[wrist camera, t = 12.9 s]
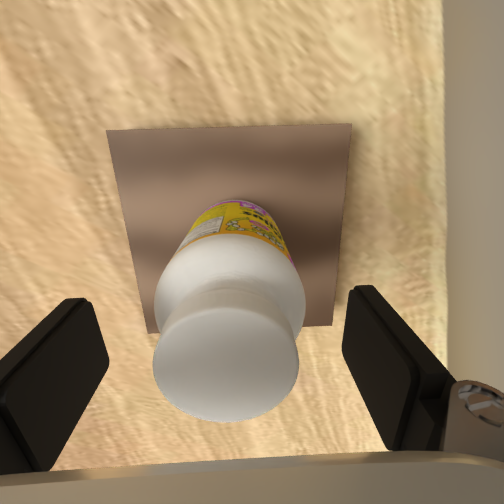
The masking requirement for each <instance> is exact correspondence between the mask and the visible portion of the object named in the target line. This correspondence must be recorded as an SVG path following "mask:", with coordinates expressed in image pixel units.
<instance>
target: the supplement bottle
mask: <svg viewBox="0 0 504 504" xmlns="http://www.w3.org/2000/svg"><path fill="white" fill-rule="evenodd" d="M305 308H306V303H305V294H304V289H303V286H302V282H301V280H300V278H299V275H298V273H297V271H296V268H295V266H294V264H293V262H292V259H291V257H290V254H289V252H288V249H287V247H286V245H285V242H284V240H283V238H282V236H281V233H280V231H279V229H278V227H277V225H276V223H275V221H274V220H273V219H272V217H271V216H270V215H269V214H268V213H267V212H266V211H265V210H264V209H262V208H261V207H259V206H257V205H255V204H253V203H251V202H247V201H243V200H227V201H223V202H219V203H217V204H215V205H213V206H211V207H209V208H208V209H207V210H205V211H204V212H203V213H202V214H201V215H200V216H199V217H198V219H197V220H196V221H195V223H194V224H193V226H192V228H191V229H190V231H189V232H188V234H187V235H186V237H185V238H184V240H183V242H182V243H181V245H180V246H179V248H178V249H177V251H176V253H175V254H174V256H173V257H172V258H171V260H170V262H169V263H168V265H167V266H166V268H165V270H164V271H163V273H162V275H161V277H160V279H159V282H158V284H157V288H156V292H155V298H154V312H155V319H156V323H157V326H158V329H159V331H160V333H161V335H160V338H159V340H158V343H157V345H156V348H155V352H154V357H153V373H154V377H155V381H156V383H157V386H158V387H159V389H160V391H161V392H162V394H163V395H164V396H165V397H166V399H167V400H168V401H169V402H170V403H171V404H173V405H174V406H175V407H177V408H178V409H180V410H181V411H183V412H185V413H187V414H189V415H191V416H193V417H196V418H199V419H202V420H207V421H213V422H228V423H230V422H238V421H244V420H249V419H252V418H255V417H258V416H260V415H262V414H264V413H266V412H268V411H270V410H271V409H273V408H274V407H276V406H277V405H278V404H279V403H280V402H282V400H283V399H284V398H285V397H286V396H287V395H288V394H289V393H290V391H291V390H292V388H293V386H294V384H295V382H296V379H297V375H298V370H299V357H298V351H297V347H296V343H295V340H296V338H297V337H298V335H299V332H300V330H301V328H302V325H303V321H304V317H305Z"/></svg>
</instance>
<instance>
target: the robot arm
mask: <svg viewBox="0 0 504 504" xmlns="http://www.w3.org/2000/svg"><path fill="white" fill-rule="evenodd" d="M342 354H343V357H344V359H345V361H346V364H347V366H348V368H349V370H350V372H351V374H352V376H353V379H354V381H355V383H356V385H357V387H358V389H359V391H360V394H361V396H362V398H363V400H364V402H365V404H366V406H367V409H368V411H369V413H370V415H371V417H372V419H373V421H374V424H375V426H376V428H377V430H378V432H379V434H380V436H381V439H382V441H383V443H384V445H385V447H386V448H387V449H388V450H389V451H386V452H359V453H337V454H319V455H301V456H283V457H266V458H248V459H232V460H215V461H199V462H183V463H167V464H151V465H135V466H120V467H106V468H91V469H76V470H62V471H49V470H50V469H51V468H52V467H53V465H54V464H55V462H56V460H57V458H58V457H59V455H60V453H61V451H62V450H63V448H64V446H65V444H66V442H67V441H68V439H69V437H70V435H71V434H72V432H73V430H74V428H75V426H76V425H77V423H78V421H79V419H80V417H81V416H82V414H83V412H84V410H85V409H86V407H87V405H88V403H89V401H90V400H91V398H92V396H93V394H94V393H95V391H96V389H97V387H98V385H99V384H100V382H101V380H102V378H103V377H104V375H105V373H106V371H107V369H108V367H109V356H108V353H107V350H106V347H105V343H104V340H103V337H102V334H101V331H100V327H99V324H98V321H97V318H96V315H95V311H94V308H93V305H92V303H91V302H88V301H87V300H86V299H85V298H68V299H65V300H63V301H62V302H61V303H60V304H59V305H58V306H57V307H56V308H55V309H54V310H53V311H52V312H51V313H50V314H49V315H47V316H46V317H45V318H44V319H43V320H42V321H41V322H40V323H39V324H38V325H37V326H36V327H35V328H34V329H33V330H32V331H31V332H29V333H28V334H27V335H26V336H25V337H24V338H23V339H22V340H21V341H20V342H19V343H18V344H17V345H16V346H15V347H14V348H12V349H11V350H10V351H9V352H8V353H7V354H6V355H5V356H4V357H3V358H2V359H1V360H0V504H504V393H502V392H501V391H499V390H497V389H495V388H493V387H491V386H489V385H487V384H484V383H481V382H478V381H471V380H463V381H458V382H457V381H456V380H455V379H454V378H453V376H452V375H451V374H450V373H449V371H448V370H447V369H446V368H445V367H444V366H443V364H442V363H441V362H440V361H439V360H438V359H437V358H436V356H435V355H434V354H433V353H432V352H431V351H430V350H429V349H428V347H427V346H426V345H425V344H424V343H423V342H422V341H421V339H420V338H419V337H418V336H417V335H416V334H415V333H414V332H413V330H412V329H411V328H410V327H409V326H408V325H407V324H406V322H405V321H404V320H403V319H402V318H401V317H400V316H399V315H398V313H397V312H396V311H395V310H394V309H393V308H392V307H391V305H390V304H389V303H388V302H387V301H386V300H385V299H384V297H383V296H382V295H381V294H380V293H379V292H378V291H377V290H376V288H375V287H374V286H373V285H358V286H355V287H354V290H350V292H349V297H348V304H347V311H346V319H345V326H344V333H343V341H342Z"/></svg>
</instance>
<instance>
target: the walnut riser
mask: <svg viewBox="0 0 504 504" xmlns="http://www.w3.org/2000/svg"><path fill="white" fill-rule="evenodd" d="M351 128H352V124H317V125H282V126H246V127H211V128H175V129H140V130H106V134H107V138H108V143H109V148H110V153H111V158H112V163H113V167H114V172H115V177H116V182H117V187H118V192H119V197H120V201H121V206H122V211H123V216H124V221H125V226H126V230H127V235H128V240H129V245H130V250H131V255H132V259H133V264H134V269H135V274H136V279H137V284H138V289H139V293H140V298H141V303H142V308H143V313H144V318H145V322H146V327H147V332H148V334H151V333H160V331H159V329H158V326H157V323H156V319H155V312H154V298H155V292H156V288H157V284H158V282H159V279H160V277H161V275H162V273H163V271H164V270H165V268H166V266H167V265H168V263H169V262H170V260H171V258H172V257H173V256H174V254H175V253H176V251H177V249H178V248H179V246H180V245H181V243H182V242H183V240H184V238H185V237H186V235H187V234H188V232H189V231H190V229H191V228H192V226H193V224H194V223H195V221H196V220H197V219H198V217H199V216H200V215H201V214H202V213H203V212H204V211H205V210H207V209H208V208H209V207H211V206H213V205H215V204H217V203H219V202H223V201H227V200H243V201H247V202H251V203H253V204H255V205H257V206H259V207H261V208H262V209H264V210H265V211H266V212H267V213H268V214H269V215H270V216H271V217H272V219H273V220H274V221H275V223H276V225H277V227H278V229H279V231H280V233H281V236H282V238H283V240H284V242H285V245H286V247H287V249H288V252H289V254H290V257H291V259H292V262H293V264H294V266H295V268H296V271H297V273H298V275H299V278H300V280H301V282H302V286H303V289H304V294H305V303H306V308H305V317H304V321H303V325H302V327H309V326H332V322H333V311H334V301H335V291H336V281H337V270H338V260H339V250H340V240H341V230H342V219H343V209H344V199H345V189H346V179H347V168H348V158H349V148H350V138H351Z"/></svg>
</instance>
